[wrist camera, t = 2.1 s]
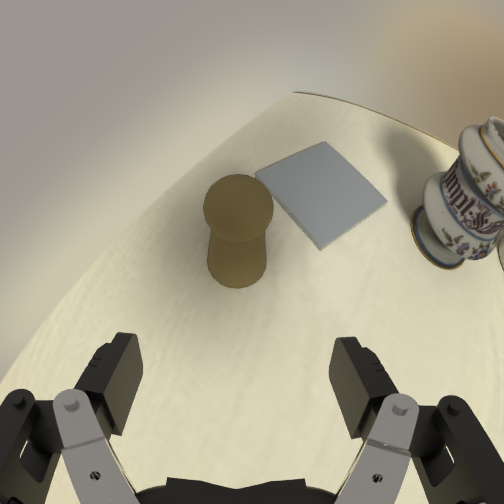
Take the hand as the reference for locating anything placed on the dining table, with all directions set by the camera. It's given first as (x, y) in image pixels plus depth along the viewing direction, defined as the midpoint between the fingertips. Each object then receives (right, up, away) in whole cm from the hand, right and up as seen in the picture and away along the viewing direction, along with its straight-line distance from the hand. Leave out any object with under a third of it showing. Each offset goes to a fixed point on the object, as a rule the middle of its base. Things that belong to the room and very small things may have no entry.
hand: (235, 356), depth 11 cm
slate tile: (+9, +12, +24) cm, 28 cm away
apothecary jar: (+26, +6, +22) cm, 35 cm away
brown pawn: (-1, +3, +19) cm, 19 cm away
